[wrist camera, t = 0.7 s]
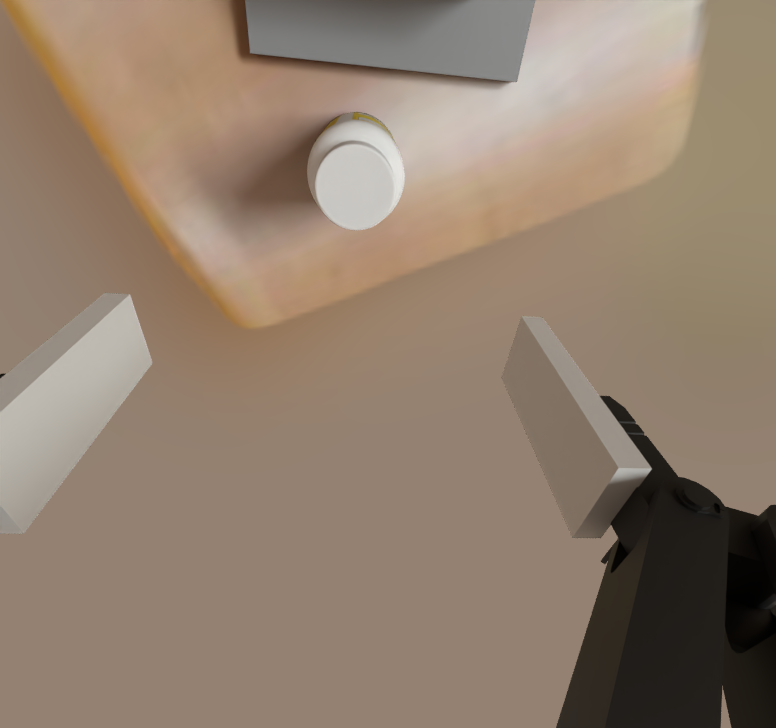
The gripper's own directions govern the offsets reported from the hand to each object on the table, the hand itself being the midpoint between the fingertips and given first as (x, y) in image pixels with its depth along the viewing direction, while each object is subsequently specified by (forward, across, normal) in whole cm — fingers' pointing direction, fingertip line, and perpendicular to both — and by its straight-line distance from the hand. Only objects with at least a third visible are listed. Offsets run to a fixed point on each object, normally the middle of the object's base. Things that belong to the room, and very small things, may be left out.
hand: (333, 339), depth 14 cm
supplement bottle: (+19, 0, +3) cm, 19 cm away
